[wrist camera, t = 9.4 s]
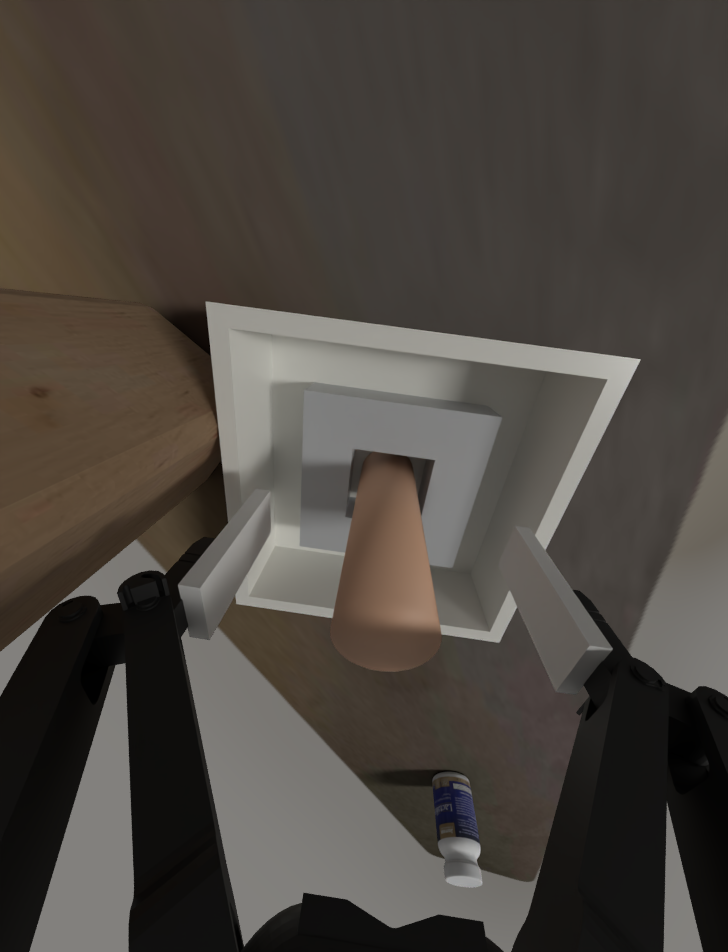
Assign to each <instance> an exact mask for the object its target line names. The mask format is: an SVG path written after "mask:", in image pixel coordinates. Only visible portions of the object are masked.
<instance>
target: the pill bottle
mask: <svg viewBox="0 0 728 952" xmlns="http://www.w3.org/2000/svg"><path fill="white" fill-rule="evenodd" d="M432 783H433V795H434V806H435V817H436V828H437V839H438V847H439V850H440V852H441V854H442V855H443V856H444V857H445V865H444V872H445V880H446V881H447V882H448V883H450V884H453V885H456V886H462V887H479V886H481V885H482V876H481V869H480V868H479V866H478V865H477V858H478V857H479V855H480V842H479V836H478V830H477V824H476V818H475V812H474V806H473V800H472V794H471V788H470V783H469V780H468V779H467V777H465V776H464V775H462V774H460V773H457V772H441V773H438V774H436V775H435V776H434V777H433V780H432Z"/></svg>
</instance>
